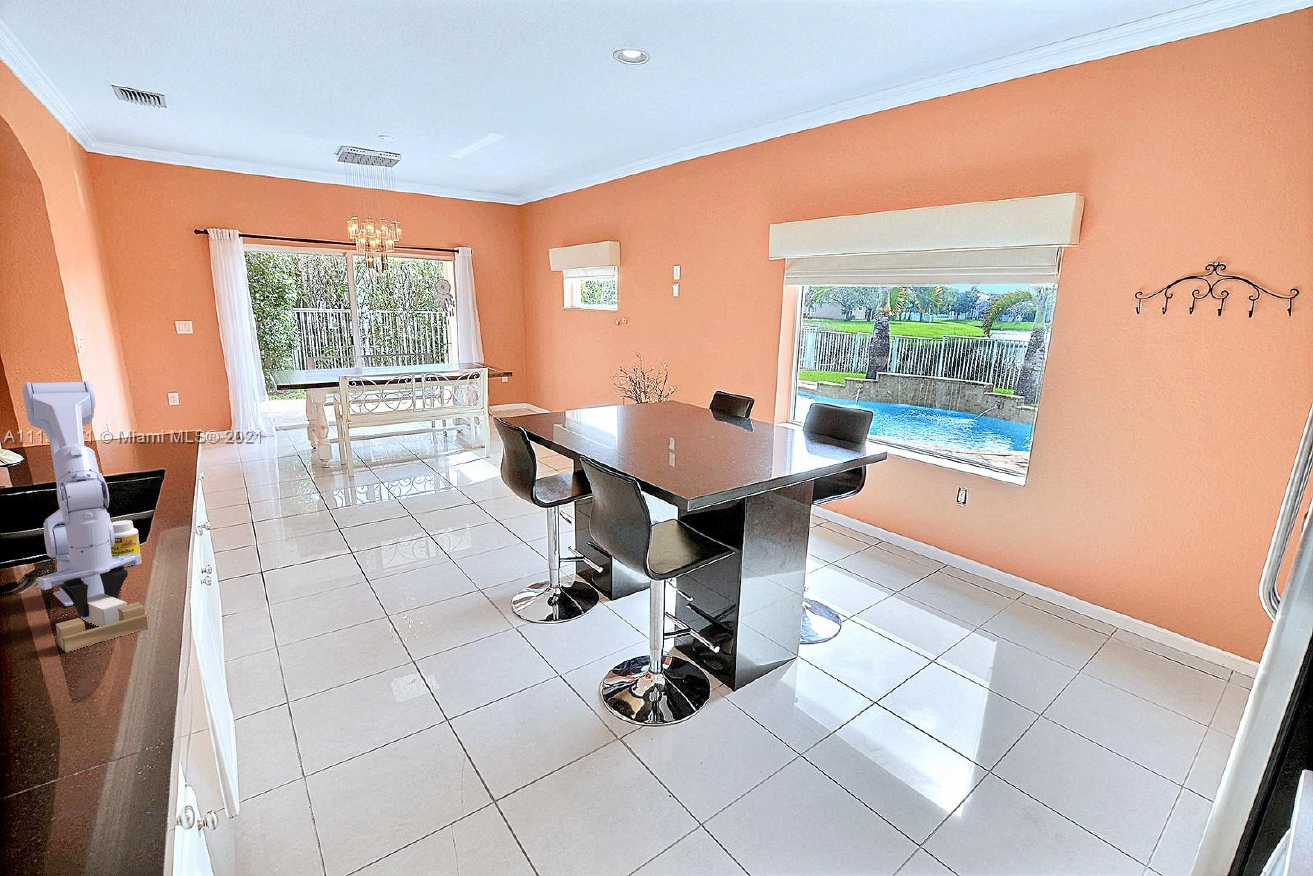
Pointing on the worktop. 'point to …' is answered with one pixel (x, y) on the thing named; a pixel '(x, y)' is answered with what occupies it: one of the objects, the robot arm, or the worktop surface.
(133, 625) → the tan bridge
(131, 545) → the supplement bottle
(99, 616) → the white block
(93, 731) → the worktop surface
